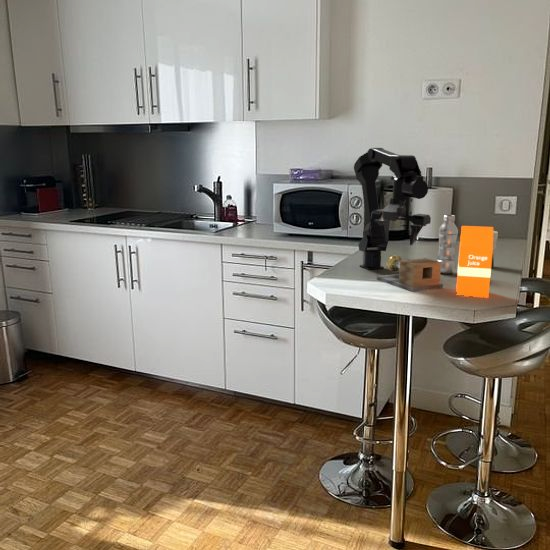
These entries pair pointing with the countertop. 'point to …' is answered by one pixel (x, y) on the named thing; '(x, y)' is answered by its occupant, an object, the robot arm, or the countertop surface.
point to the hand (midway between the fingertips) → (398, 243)
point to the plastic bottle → (447, 244)
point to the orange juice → (475, 261)
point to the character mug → (494, 244)
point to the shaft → (394, 263)
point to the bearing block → (416, 275)
